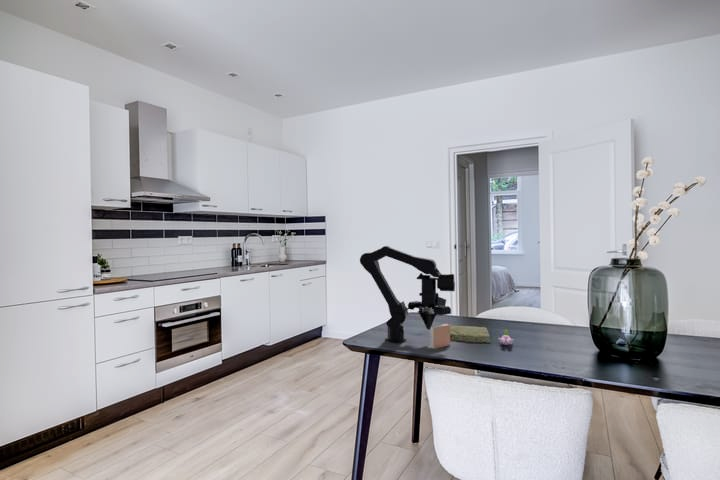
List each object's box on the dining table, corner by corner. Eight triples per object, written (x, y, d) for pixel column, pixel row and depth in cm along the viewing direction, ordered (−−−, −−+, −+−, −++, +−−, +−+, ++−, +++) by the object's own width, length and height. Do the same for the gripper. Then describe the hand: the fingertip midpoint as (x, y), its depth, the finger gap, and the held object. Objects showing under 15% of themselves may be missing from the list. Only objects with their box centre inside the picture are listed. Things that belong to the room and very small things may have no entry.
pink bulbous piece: (497, 343, 171) (497, 346, 157) (498, 328, 171) (497, 330, 158) (514, 344, 168) (514, 347, 155) (514, 329, 169) (514, 331, 155)
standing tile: (430, 347, 159) (430, 327, 159) (446, 343, 164) (446, 323, 164) (434, 348, 157) (434, 327, 157) (450, 344, 163) (449, 324, 163)
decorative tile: (440, 331, 187) (440, 323, 187) (486, 333, 183) (486, 325, 183) (440, 342, 169) (440, 333, 169) (491, 344, 165) (491, 335, 165)
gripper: (460, 291, 163) (460, 330, 163) (425, 286, 178) (425, 322, 178) (441, 293, 156) (441, 334, 156) (406, 288, 171) (407, 326, 171)
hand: (428, 329), depth 166 cm, fingers closed
